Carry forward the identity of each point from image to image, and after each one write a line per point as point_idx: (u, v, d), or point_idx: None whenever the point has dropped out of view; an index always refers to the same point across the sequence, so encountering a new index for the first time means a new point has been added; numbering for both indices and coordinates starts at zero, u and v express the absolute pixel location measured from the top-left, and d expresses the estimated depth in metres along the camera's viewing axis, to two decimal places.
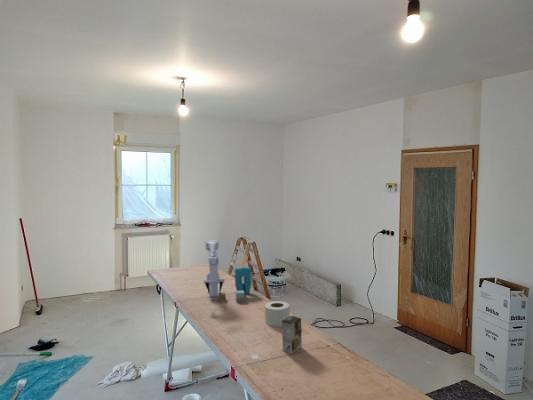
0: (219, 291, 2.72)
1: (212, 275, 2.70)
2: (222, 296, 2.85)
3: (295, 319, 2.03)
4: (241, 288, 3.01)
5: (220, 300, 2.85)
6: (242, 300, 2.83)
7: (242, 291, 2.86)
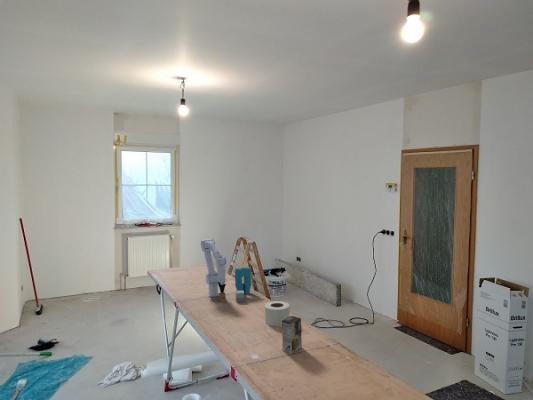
0: (220, 291, 2.84)
1: None
2: (222, 296, 2.85)
3: (295, 319, 2.03)
4: (241, 288, 3.01)
5: (220, 300, 2.85)
6: (242, 300, 2.83)
7: (242, 291, 2.86)
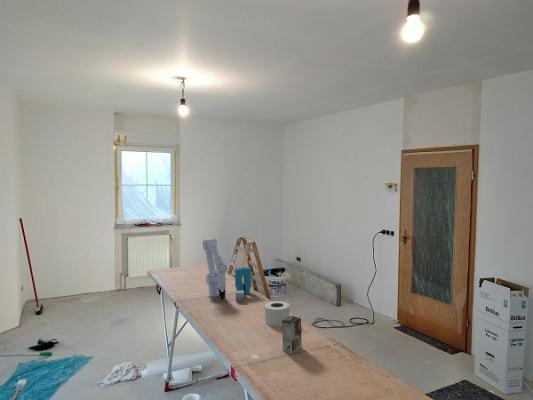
0: None
1: None
2: None
3: (295, 319, 2.03)
4: (241, 288, 3.01)
5: (220, 300, 2.85)
6: (242, 300, 2.83)
7: (242, 291, 2.86)
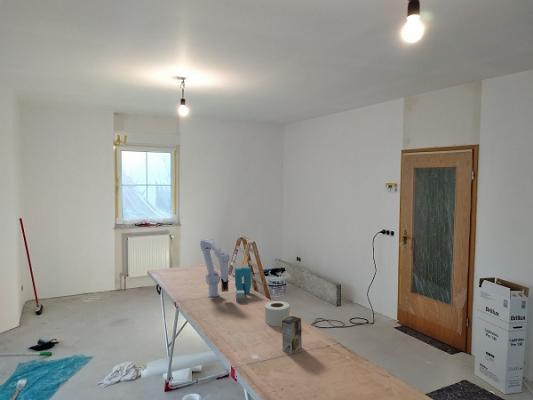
0: (223, 288, 2.84)
1: None
2: None
3: (295, 319, 2.03)
4: (241, 288, 3.01)
5: (223, 290, 2.84)
6: (242, 300, 2.84)
7: (242, 291, 2.86)
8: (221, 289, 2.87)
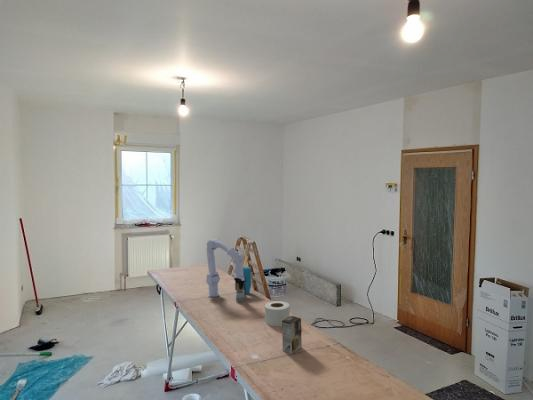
0: (239, 287, 2.83)
1: (235, 270, 2.85)
2: None
3: (295, 319, 2.03)
4: None
5: (239, 290, 2.83)
6: (242, 300, 2.84)
7: (242, 291, 2.87)
8: (236, 289, 2.85)
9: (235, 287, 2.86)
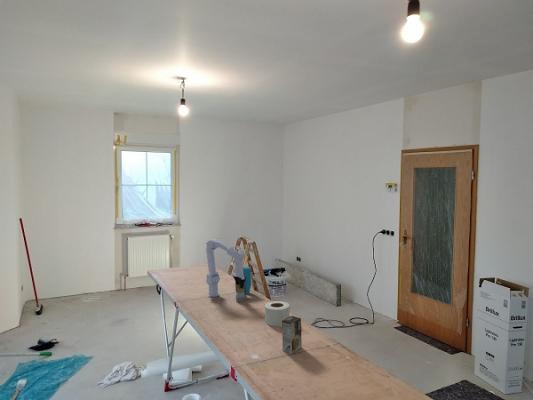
0: None
1: (235, 269, 2.85)
2: None
3: (295, 319, 2.03)
4: None
5: (239, 291, 2.83)
6: (242, 300, 2.84)
7: None
8: (236, 290, 2.85)
9: None
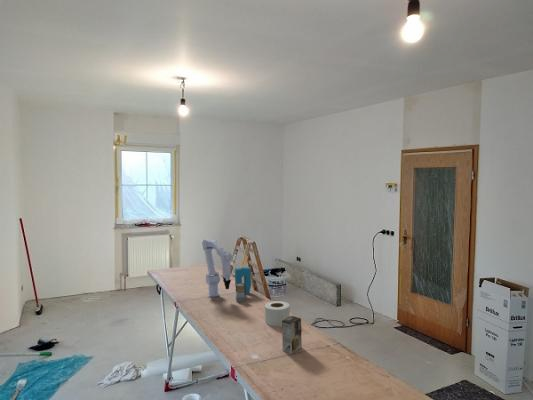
0: (225, 287, 2.80)
1: None
2: (241, 287, 2.84)
3: (295, 319, 2.03)
4: None
5: (239, 291, 2.83)
6: (242, 300, 2.84)
7: None
8: (236, 290, 2.85)
9: (236, 288, 2.86)
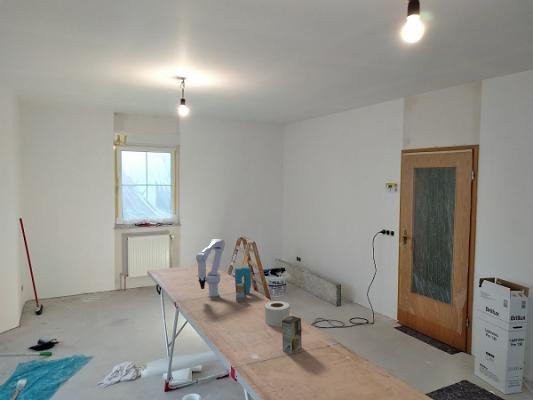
0: None
1: None
2: (241, 287, 2.84)
3: (295, 319, 2.03)
4: None
5: (239, 291, 2.83)
6: (242, 300, 2.84)
7: None
8: (236, 290, 2.85)
9: None
